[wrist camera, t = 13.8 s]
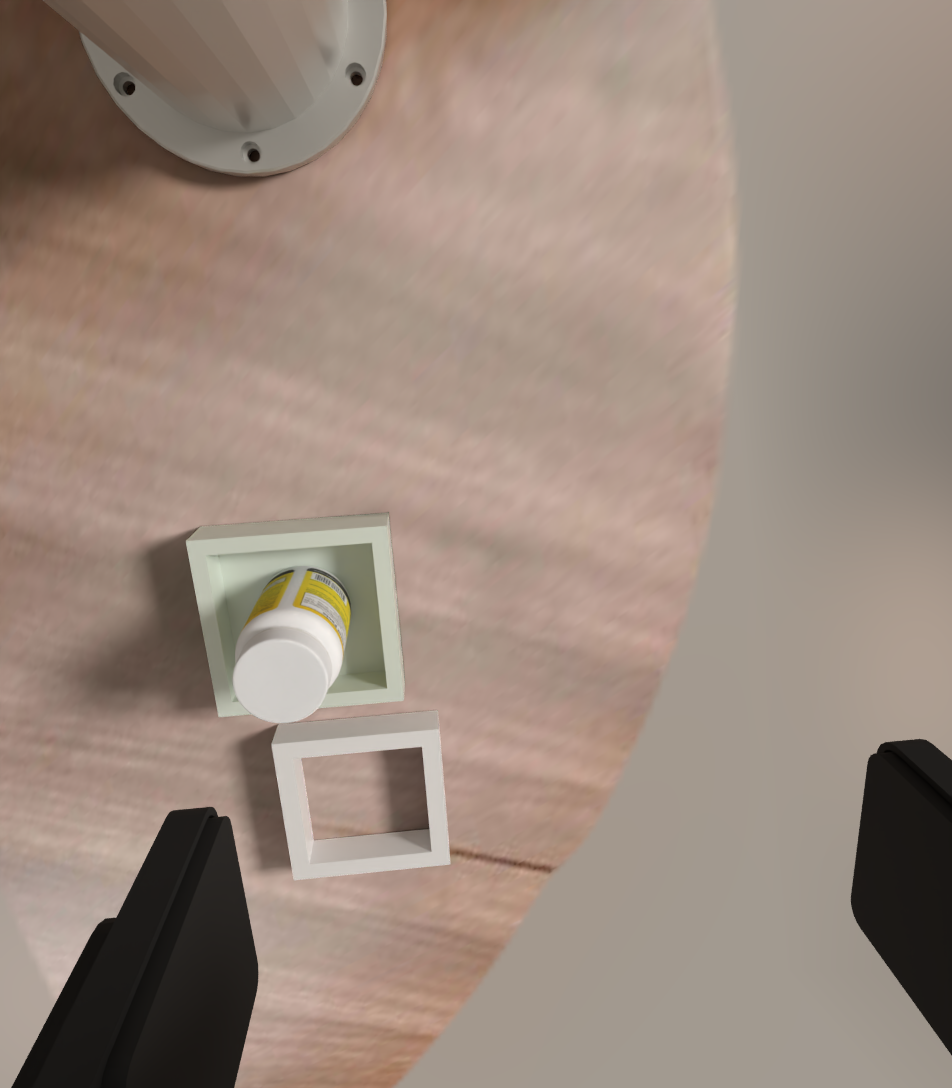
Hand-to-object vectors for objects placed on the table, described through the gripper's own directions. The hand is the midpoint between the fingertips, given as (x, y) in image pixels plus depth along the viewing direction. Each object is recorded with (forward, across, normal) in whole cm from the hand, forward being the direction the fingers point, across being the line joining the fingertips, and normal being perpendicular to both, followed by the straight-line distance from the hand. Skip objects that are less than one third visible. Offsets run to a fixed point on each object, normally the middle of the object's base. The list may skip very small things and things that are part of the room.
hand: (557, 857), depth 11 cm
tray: (+28, +8, +7) cm, 30 cm away
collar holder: (+28, +6, +18) cm, 34 cm away
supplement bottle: (+28, +8, +7) cm, 30 cm away
